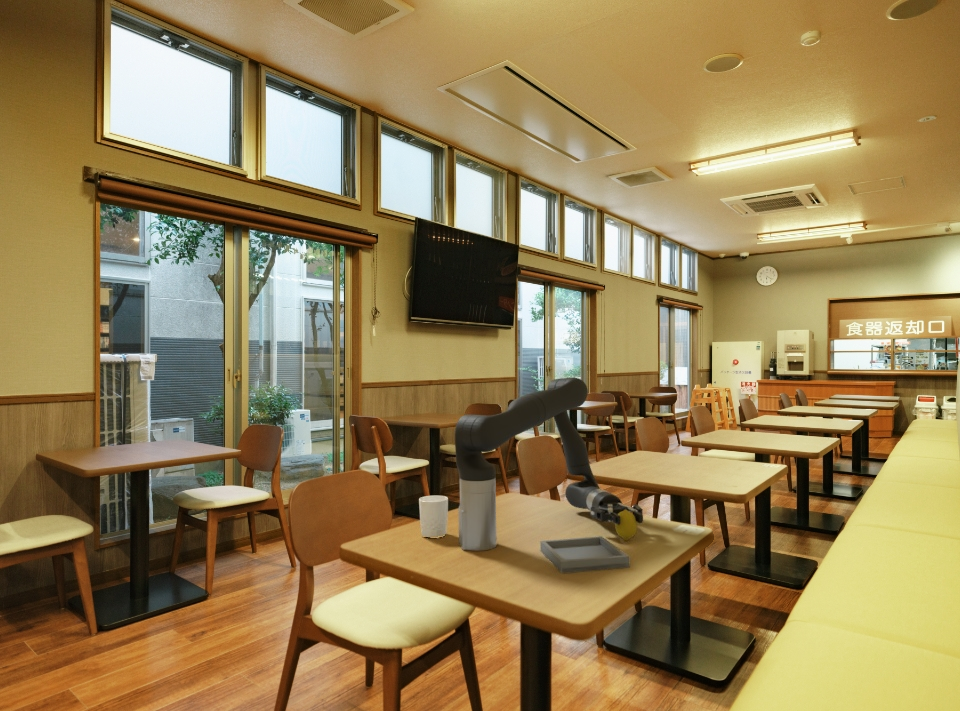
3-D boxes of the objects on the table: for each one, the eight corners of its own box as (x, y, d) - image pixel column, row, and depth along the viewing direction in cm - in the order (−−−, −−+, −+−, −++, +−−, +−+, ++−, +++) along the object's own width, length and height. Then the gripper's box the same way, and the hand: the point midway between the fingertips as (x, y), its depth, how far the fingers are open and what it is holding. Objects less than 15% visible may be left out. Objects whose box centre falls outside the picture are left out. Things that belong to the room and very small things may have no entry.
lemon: (613, 542, 152) (613, 511, 152) (616, 536, 157) (616, 506, 157) (636, 544, 150) (635, 513, 150) (638, 538, 155) (637, 507, 156)
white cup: (435, 541, 156) (434, 503, 156) (413, 536, 160) (412, 499, 161) (454, 534, 162) (453, 497, 162) (432, 529, 167) (432, 494, 167)
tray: (561, 573, 130) (561, 561, 131) (540, 551, 146) (540, 540, 146) (629, 567, 134) (629, 556, 134) (601, 546, 149) (601, 536, 149)
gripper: (579, 492, 167) (603, 506, 150) (627, 489, 169) (656, 503, 153) (580, 519, 166) (604, 536, 150) (627, 516, 169) (656, 532, 153)
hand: (630, 519), depth 151 cm, fingers closed on lemon, 5 cm apart
